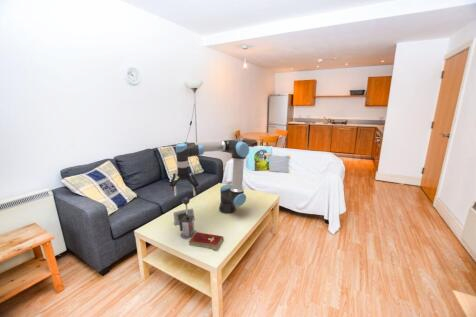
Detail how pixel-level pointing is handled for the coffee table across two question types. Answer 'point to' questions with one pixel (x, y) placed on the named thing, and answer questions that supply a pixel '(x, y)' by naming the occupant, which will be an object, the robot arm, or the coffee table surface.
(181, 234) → the trivet
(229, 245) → the coffee table surface
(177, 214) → the digital clock
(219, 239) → the hardcover book
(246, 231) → the coffee table surface
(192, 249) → the coffee table surface
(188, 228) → the grey blocky piece
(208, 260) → the coffee table surface
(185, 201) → the ball knob lever
